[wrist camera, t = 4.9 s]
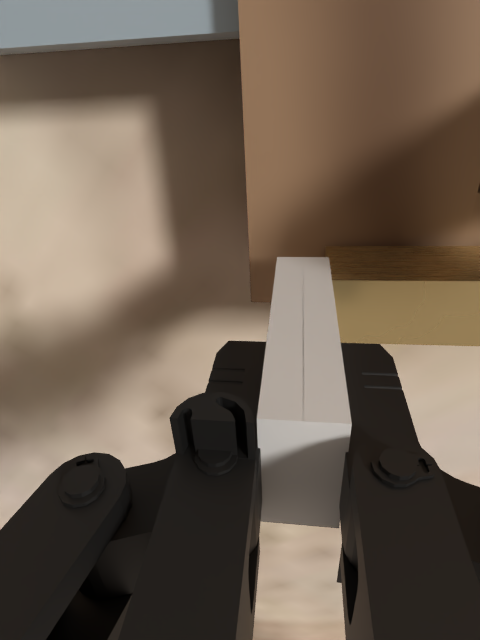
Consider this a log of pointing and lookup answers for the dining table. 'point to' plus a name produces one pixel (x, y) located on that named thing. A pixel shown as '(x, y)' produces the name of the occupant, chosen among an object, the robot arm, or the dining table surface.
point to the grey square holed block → (112, 23)
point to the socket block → (358, 126)
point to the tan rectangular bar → (407, 294)
